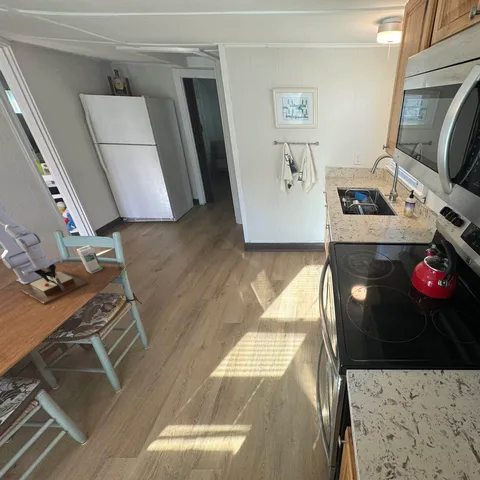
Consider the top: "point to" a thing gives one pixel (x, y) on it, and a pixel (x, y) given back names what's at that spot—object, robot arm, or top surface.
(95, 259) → the syrup box
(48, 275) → the cleaver knife
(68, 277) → the cake
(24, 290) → the cutting board
